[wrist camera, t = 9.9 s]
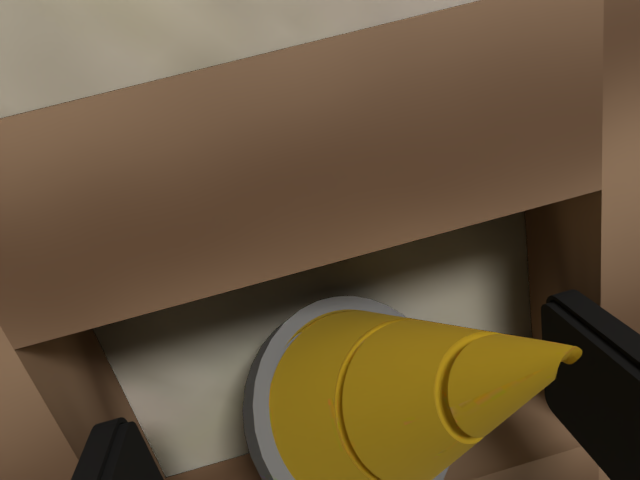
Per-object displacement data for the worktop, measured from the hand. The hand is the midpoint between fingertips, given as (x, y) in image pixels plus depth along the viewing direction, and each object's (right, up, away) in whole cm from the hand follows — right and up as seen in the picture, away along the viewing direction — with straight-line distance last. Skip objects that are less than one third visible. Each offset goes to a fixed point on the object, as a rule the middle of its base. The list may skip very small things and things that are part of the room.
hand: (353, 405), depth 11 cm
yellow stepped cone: (0, +1, +3) cm, 3 cm away
